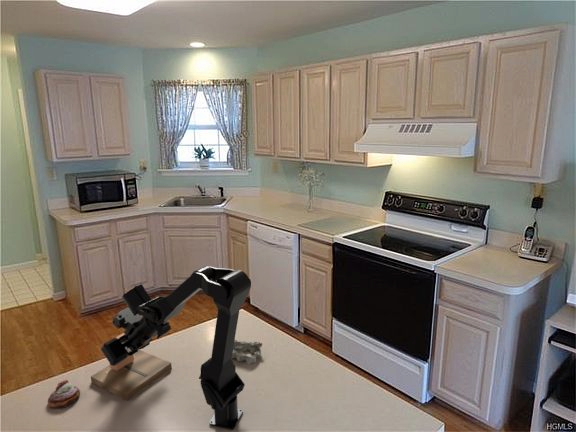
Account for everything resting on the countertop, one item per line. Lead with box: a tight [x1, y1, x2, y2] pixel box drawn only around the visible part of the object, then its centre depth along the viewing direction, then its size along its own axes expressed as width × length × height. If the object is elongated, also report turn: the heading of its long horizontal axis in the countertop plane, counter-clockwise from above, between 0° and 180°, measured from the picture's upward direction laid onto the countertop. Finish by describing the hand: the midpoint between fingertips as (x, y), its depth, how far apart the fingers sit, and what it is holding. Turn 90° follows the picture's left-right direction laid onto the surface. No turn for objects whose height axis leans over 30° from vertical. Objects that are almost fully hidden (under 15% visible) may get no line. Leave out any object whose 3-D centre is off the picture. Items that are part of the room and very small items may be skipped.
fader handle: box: [109, 332, 134, 371], centre depth 116 cm, size 4×7×8 cm, turn 150°
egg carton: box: [232, 339, 263, 365], centre depth 125 cm, size 11×8×4 cm
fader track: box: [90, 349, 172, 401], centre depth 116 cm, size 15×16×2 cm
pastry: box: [47, 379, 81, 409], centre depth 106 cm, size 8×8×5 cm
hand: (124, 351), depth 115 cm, fingers closed, pressing on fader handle
